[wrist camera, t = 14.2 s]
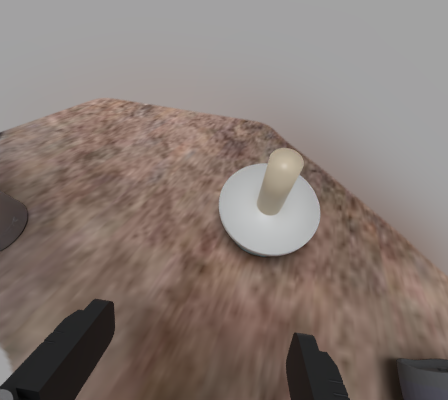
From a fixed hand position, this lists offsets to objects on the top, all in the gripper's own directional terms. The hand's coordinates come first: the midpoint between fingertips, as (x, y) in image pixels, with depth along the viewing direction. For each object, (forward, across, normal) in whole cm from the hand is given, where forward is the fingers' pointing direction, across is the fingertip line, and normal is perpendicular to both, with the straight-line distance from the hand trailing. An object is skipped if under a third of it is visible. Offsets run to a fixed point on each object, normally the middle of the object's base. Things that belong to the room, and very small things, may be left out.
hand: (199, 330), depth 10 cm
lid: (+21, -5, +1) cm, 22 cm away
